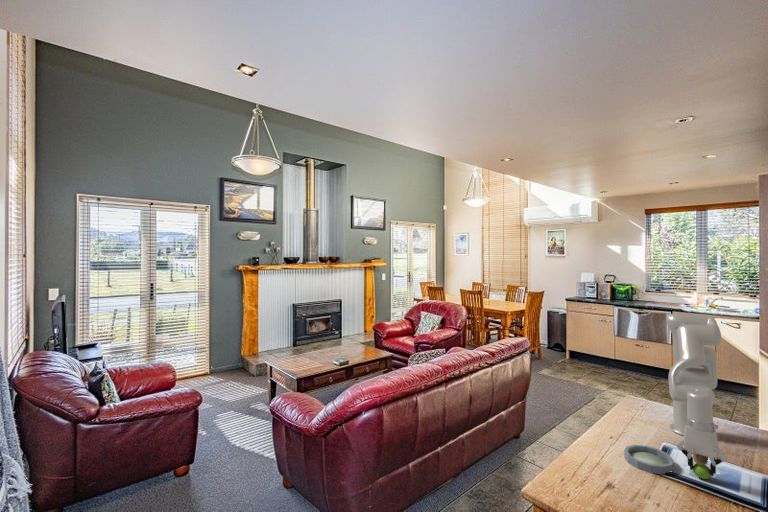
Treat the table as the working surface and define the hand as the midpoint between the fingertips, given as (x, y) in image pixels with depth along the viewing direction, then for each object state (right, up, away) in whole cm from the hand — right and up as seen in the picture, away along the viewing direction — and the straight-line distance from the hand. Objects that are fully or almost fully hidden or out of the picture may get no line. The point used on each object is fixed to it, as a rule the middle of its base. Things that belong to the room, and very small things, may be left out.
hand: (701, 470), depth 144 cm
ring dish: (-12, -3, +12) cm, 17 cm away
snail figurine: (0, -3, 0) cm, 3 cm away
